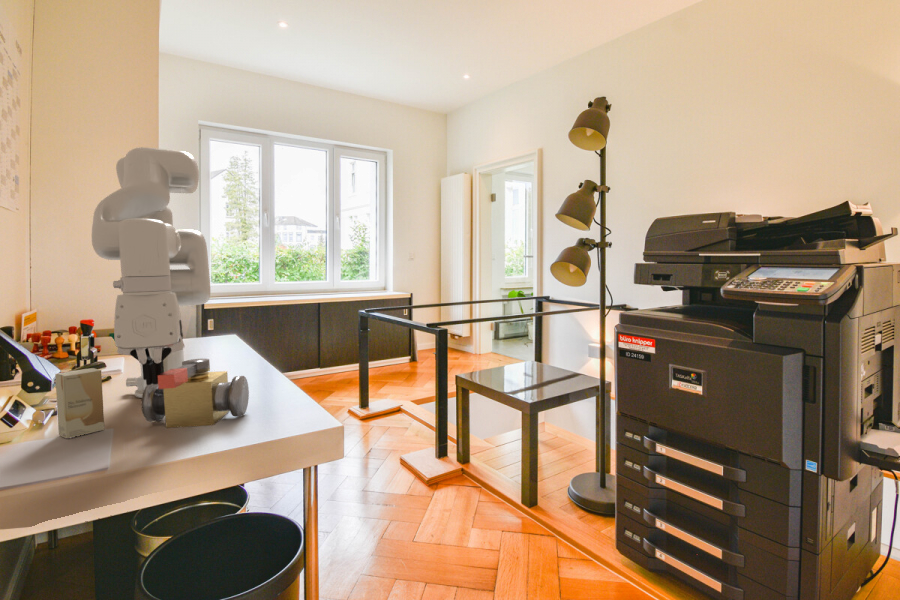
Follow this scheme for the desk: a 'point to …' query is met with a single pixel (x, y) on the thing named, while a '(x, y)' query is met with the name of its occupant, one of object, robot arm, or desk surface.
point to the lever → (182, 373)
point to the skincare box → (79, 402)
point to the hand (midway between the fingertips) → (154, 382)
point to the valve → (197, 400)
